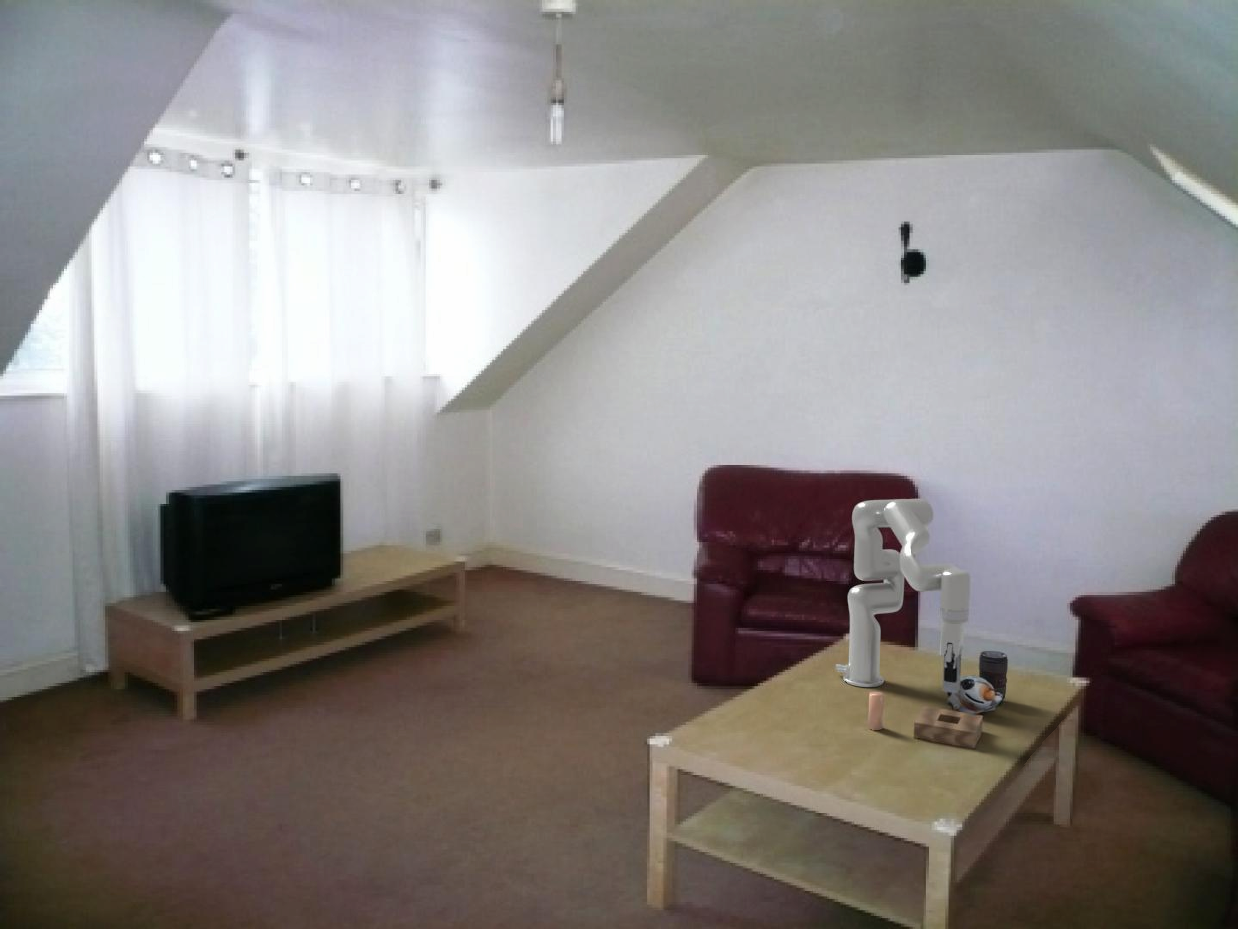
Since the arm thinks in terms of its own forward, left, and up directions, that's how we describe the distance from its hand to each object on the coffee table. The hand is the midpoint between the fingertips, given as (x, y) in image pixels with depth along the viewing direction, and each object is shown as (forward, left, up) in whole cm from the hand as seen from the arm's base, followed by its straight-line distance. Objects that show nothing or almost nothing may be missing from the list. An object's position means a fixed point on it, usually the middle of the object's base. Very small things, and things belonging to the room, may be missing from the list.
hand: (951, 678), depth 284 cm
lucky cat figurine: (+3, +23, -16) cm, 28 cm away
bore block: (0, 0, -16) cm, 16 cm away
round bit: (-19, -5, -16) cm, 26 cm away
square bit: (0, 0, -3) cm, 3 cm away
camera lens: (+7, +33, -16) cm, 38 cm away
